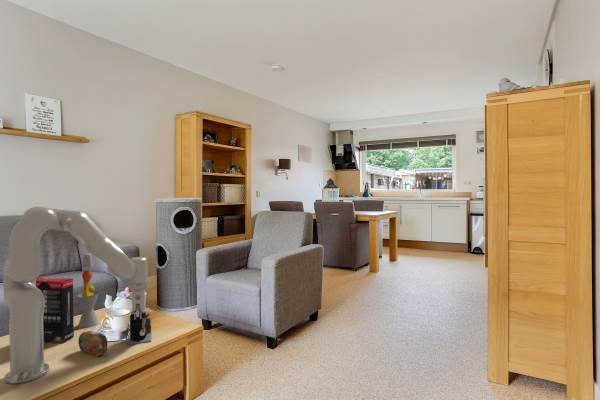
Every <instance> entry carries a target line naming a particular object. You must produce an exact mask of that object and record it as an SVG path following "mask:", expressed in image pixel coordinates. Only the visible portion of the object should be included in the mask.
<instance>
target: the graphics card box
mask: <svg viewBox="0 0 600 400" xmlns="http://www.w3.org/2000/svg"><path fill="white" fill-rule="evenodd" d="M36 287H37V288H38V289H40V290H41V292H42V293H43V295H44V299H45V305H44V314H43V330H44V343H45V342H46V343H48V342H49V343H60V344H62V343H66V342H67V341H69V340H71V339H72V338H74V335H75V332H74V331H75V328H74V326H75V324H74V323H75V322H74V278H66V277H65V278H63V277H62V278H61V277H60V278H59V277H41V276H40V277H39V276H38V277H37V278H36Z"/></svg>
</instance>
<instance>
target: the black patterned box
mask: <svg viewBox="0 0 600 400" xmlns="http://www.w3.org/2000/svg"><path fill="white" fill-rule="evenodd" d="M127 325H128V326H126V334H127V333H128V331H129V332H130V329H129V324H128V323H127ZM146 328H149V333H151V334H152V317H149V318H148V317H146Z"/></svg>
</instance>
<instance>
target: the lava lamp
mask: <svg viewBox="0 0 600 400" xmlns="http://www.w3.org/2000/svg"><path fill="white" fill-rule="evenodd" d="M92 256H93V255H92V254H91V253H84V254H83V258H82V265H81V268H93V267H94V263H93V262H94V261H93V257H92ZM92 277H93V272H92V271H90V270H85V271H83V272H82V275H81V278H82V281H83V292H82V293H79V294H77V295H76V296H77V299H78V302H79V304H80V306H81V308H82V312H81V315H80V316H81V317H80V318H79V319H80V320H79V322H78V325H77V327H78V328H79V329H87V328H92V327H95V326H97V325H98V324H99V320H98V317H97V315H96V312H95V309H94V307H95V305H96V302H97V299H98V298H99V297H98V296H99V294H100V293H99V292H97V291H95V286H94V285H92V284H91V285H90V281H91V279H92Z"/></svg>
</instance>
